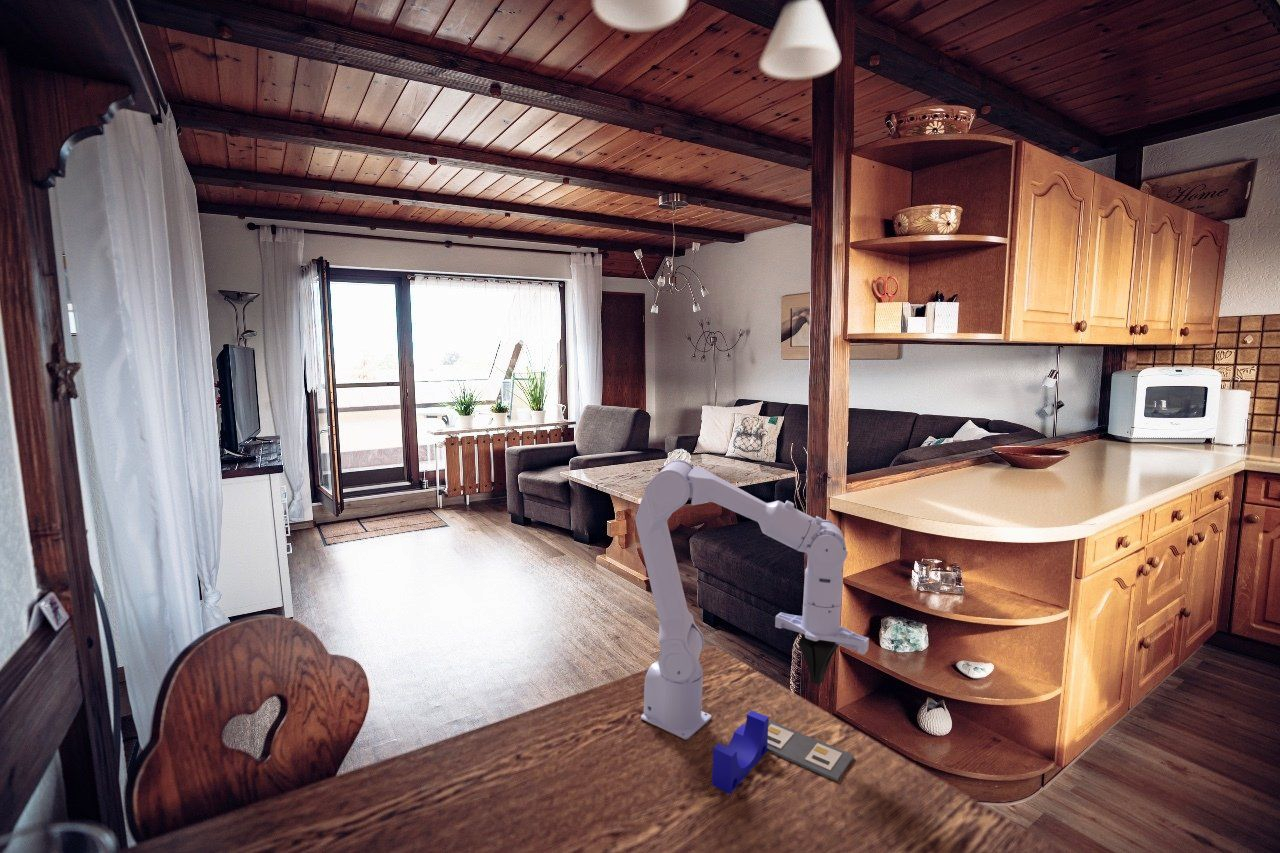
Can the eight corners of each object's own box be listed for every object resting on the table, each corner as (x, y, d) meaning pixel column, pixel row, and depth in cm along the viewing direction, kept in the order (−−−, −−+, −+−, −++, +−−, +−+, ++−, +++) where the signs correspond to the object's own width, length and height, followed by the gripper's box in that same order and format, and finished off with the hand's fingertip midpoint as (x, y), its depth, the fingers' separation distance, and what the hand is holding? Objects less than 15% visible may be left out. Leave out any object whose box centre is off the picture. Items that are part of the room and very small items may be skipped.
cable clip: (741, 741, 103) (742, 706, 102) (766, 752, 100) (768, 717, 99) (703, 781, 93) (704, 744, 92) (730, 795, 90) (731, 756, 90)
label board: (746, 741, 102) (746, 737, 102) (765, 721, 108) (765, 717, 108) (837, 782, 93) (837, 777, 93) (853, 757, 99) (854, 753, 99)
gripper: (768, 596, 100) (764, 676, 102) (860, 622, 92) (854, 709, 94) (787, 583, 106) (783, 659, 108) (875, 606, 97) (869, 688, 99)
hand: (817, 681), depth 101 cm, fingers closed
